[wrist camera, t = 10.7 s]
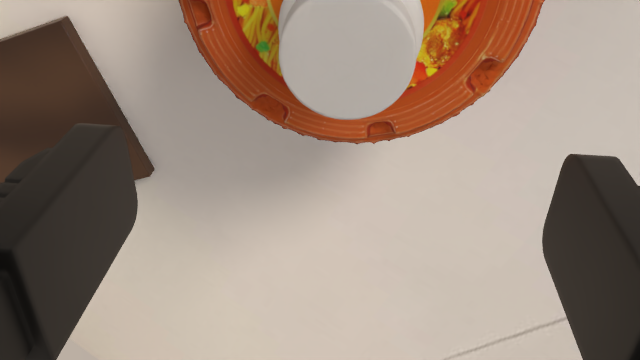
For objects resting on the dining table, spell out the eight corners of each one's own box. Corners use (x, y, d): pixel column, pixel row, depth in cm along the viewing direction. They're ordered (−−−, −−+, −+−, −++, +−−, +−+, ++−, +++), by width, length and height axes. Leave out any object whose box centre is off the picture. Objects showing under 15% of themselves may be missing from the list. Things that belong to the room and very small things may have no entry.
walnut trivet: (-78, 67, 39) (-88, 72, 38) (67, 15, 36) (60, 20, 35) (22, 204, 45) (16, 211, 44) (154, 169, 42) (150, 176, 41)
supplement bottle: (308, -91, 22) (277, -46, 15) (428, -67, 22) (453, -10, 15) (290, 29, 24) (256, 116, 17) (397, 50, 25) (407, 146, 17)
